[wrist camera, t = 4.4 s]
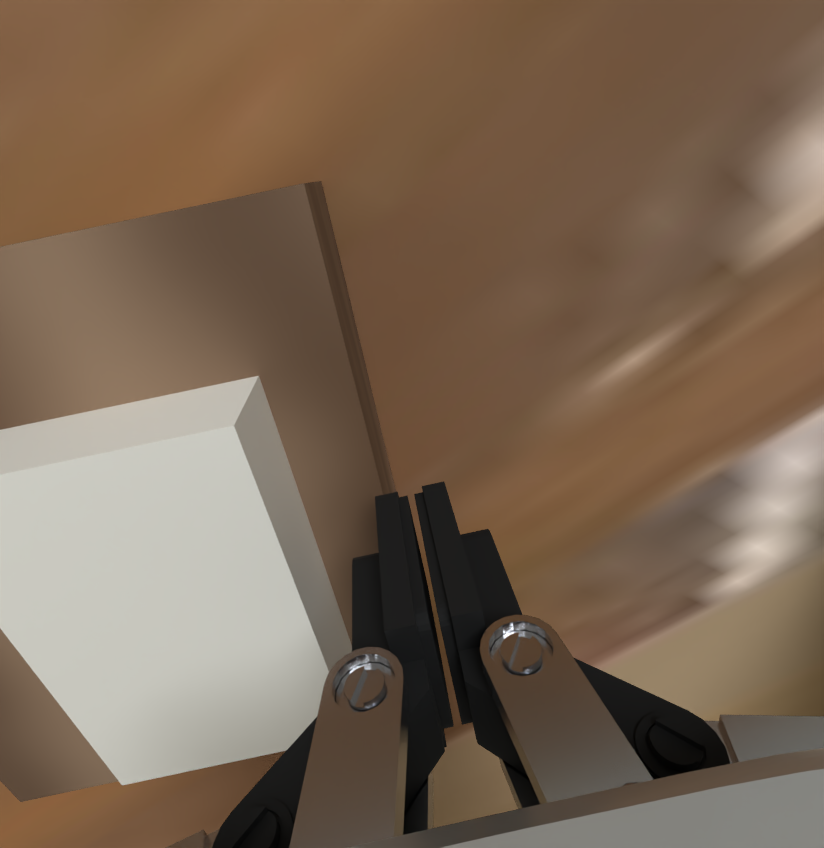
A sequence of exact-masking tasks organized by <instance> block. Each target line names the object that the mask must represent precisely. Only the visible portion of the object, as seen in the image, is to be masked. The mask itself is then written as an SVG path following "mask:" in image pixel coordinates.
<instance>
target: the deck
mask: <svg viewBox="0 0 824 848" xmlns="http://www.w3.org/2000/svg"><path fill="white" fill-rule="evenodd" d="M255 376H259V378H260V381H261V384H262V386H263V389H264V392H265V395H266V398H267V401H268V404H269V407H270V410H271V413H272V415H273V418H274V421H275V424H276V427H277V430H278V433H279V436H280V439H281V442H282V445H283V447H284V450H285V453H286V456H287V459H288V462H289V465H290V468H291V471H292V474H293V476H294V479H295V482H296V485H297V488H298V491H299V494H300V497H301V500H302V503H303V505H304V508H305V511H306V514H307V517H308V520H309V523H310V526H311V529H312V532H313V535H314V537H315V540H316V543H317V546H318V549H319V552H320V555H321V558H322V561H323V564H324V566H325V569H326V572H327V575H328V578H329V581H330V584H331V587H332V590H333V593H334V595H335V598H336V601H337V604H338V607H339V610H340V613H341V616H342V619H343V622H344V625H345V627H346V630H347V633H348V636H349V639H350V642H351V645H352V560H353V558H356V557H360V556H365V555H369V554H374V553H379V550H378V536H377V522H376V507H375V496H379V495H384V494H389V493H393V492H396V490H395V486H394V482H393V477H392V473H391V469H390V465H389V461H388V457H387V452H386V448H385V444H384V440H383V436H382V432H381V428H380V423H379V419H378V415H377V411H376V407H375V403H374V398H373V394H372V390H371V386H370V382H369V378H368V374H367V369H366V365H365V361H364V357H363V353H362V349H361V345H360V340H359V336H358V332H357V328H356V324H355V320H354V315H353V311H352V307H351V303H350V299H349V295H348V291H347V286H346V282H345V278H344V274H343V270H342V266H341V261H340V257H339V253H338V249H337V245H336V241H335V237H334V232H333V228H332V224H331V220H330V216H329V212H328V208H327V203H326V199H325V195H324V191H323V187H322V183H321V181H319V182H312V183H304V184H299V185H295V186H290V187H285V188H280V189H275V190H271V191H266V192H261V193H256V194H251V195H247V196H242V197H237V198H232V199H227V200H223V201H218V202H213V203H208V204H203V205H199V206H194V207H189V208H184V209H179V210H175V211H170V212H165V213H160V214H156V215H151V216H146V217H141V218H136V219H132V220H127V221H122V222H117V223H112V224H108V225H103V226H98V227H93V228H88V229H84V230H79V231H74V232H69V233H64V234H60V235H55V236H50V237H45V238H41V239H36V240H31V241H26V242H21V243H17V244H12V245H7V246H2V247H0V430H2V429H7V428H12V427H17V426H21V425H26V424H31V423H36V422H41V421H45V420H50V419H55V418H60V417H64V416H69V415H74V414H79V413H83V412H88V411H93V410H98V409H103V408H107V407H112V406H117V405H122V404H126V403H131V402H136V401H141V400H145V399H150V398H155V397H160V396H164V395H169V394H174V393H179V392H184V391H188V390H193V389H198V388H203V387H207V386H212V385H217V384H222V383H226V382H231V381H236V380H241V379H246V378H250V377H255ZM0 781H1V782H2V783H3V784H4V785H5V786H6V787H7V788H8V789H9V790H10V791H11V792H12V793H13V795H14V796H15V797H16V798H17V799H18V800H19V801H20V802H23V801H27V800H32V799H37V798H41V797H46V796H51V795H56V794H60V793H65V792H70V791H74V790H79V789H84V788H89V787H93V786H98V785H103V784H107V783H112V782H117V781H118V780H117V778H116V777H115V776H114V774H113V773H112V772H111V771H110V769H109V768H108V767H107V765H106V764H105V763H104V761H103V760H102V759H101V758H100V756H99V755H98V754H97V752H96V751H95V750H94V749H93V747H92V746H91V745H90V743H89V742H88V741H87V740H86V738H85V737H84V736H83V734H82V733H81V732H80V731H79V729H78V728H77V727H76V725H75V724H74V723H73V722H72V720H71V719H70V718H69V716H68V715H67V714H66V712H65V711H64V710H63V709H62V707H61V706H60V705H59V703H58V702H57V701H56V700H55V698H54V697H53V696H52V694H51V693H50V692H49V691H48V689H47V688H46V687H45V685H44V684H43V683H42V682H41V680H40V679H39V678H38V676H37V675H36V674H35V673H34V671H33V670H32V669H31V667H30V666H29V665H28V663H27V662H26V661H25V660H24V658H23V657H22V656H21V654H20V653H19V652H18V651H17V649H16V648H15V647H14V645H13V644H12V643H11V642H10V640H9V639H8V638H7V636H6V635H5V634H4V633H3V631H2V630H1V629H0Z"/></svg>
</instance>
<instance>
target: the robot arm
mask: <svg viewBox="0 0 824 848" xmlns="http://www.w3.org/2000/svg"><path fill="white" fill-rule="evenodd" d="M422 489H423V492H422V493H418V494H414V495H415V500H416V505H417V510H418V515H419V521H420V526H421V531H422V536H423V541H424V546H425V551H426V556H427V561H428V567H429V572H430V577H431V582H432V587H433V592H434V597H435V602H436V608H437V612H438V617H439V622H440V627H441V631H442V636H443V640H444V645H445V649H446V654H447V658H448V663H449V667H450V672H451V676H452V681H453V685H454V690H455V694H456V699H457V703H458V708H459V713H460V717H461V722H462V724H466V723H471V722H473V726H474V730H475V735H476V739H477V742H478V744H479V745H481V746H482V747H484V748H485V749H487V750H488V751H490V752H491V753H493V754H494V755H496V756H498V757H499V760H500V764H501V768H502V770H503V773H504V775H505V778H506V780H507V782H508V785H509V787H510V790H511V792H512V795H513V797H514V800H515V802H516V805H517V807H518V809H517V810H513V811H508V812H504V813H499V814H495V815H490V816H486V817H481V818H477V819H472V820H468V821H463V822H459V823H455V824H450V825H446V826H441V827H437V828H433V776H432V770H433V768H434V767H435V765H436V764H437V762H438V761H439V759H440V758H441V756H442V755H443V753H444V752H445V749H444V747H447V746H446V740H445V734H444V728H448V727H453V720H452V714H451V709H450V703H449V698H448V693H447V687H446V682H445V676H444V671H443V665H442V660H441V655H440V649H439V644H438V638H437V633H436V628H435V622H434V617H433V611H432V606H431V600H430V595H429V590H428V585H427V580H426V576H425V571H424V567H423V563H422V558H421V554H420V549H419V545H418V541H417V536H416V532H415V527H414V523H413V518H412V514H411V510H410V505H409V501H408V497H407V496H404V497H399V496H398V492H393V493H389V494H384V495H379V496H375V507H376V522H377V536H378V550H379V553H374V554H369V555H365V556H360V557H356V558H353V560H352V652H350V653H348V654H346V655H345V656H344V657H342V658H341V659H340V660H339V661H338V662H336V663H335V665H334V666H333V667H332V669H331V670H330V672H329V673H328V675H327V678H326V681H325V683H324V687H323V692H322V696H321V701H320V706H319V710H318V715H317V717H316V718H315V719H314V720H313V722H312V723H311V724H310V725H309V726H308V727H307V728H306V729H305V731H304V732H303V733H302V734H301V735H300V736H299V737H298V738H297V739H296V741H295V742H294V743H293V744H292V745H291V746H290V747H289V748H288V750H287V751H286V752H285V753H284V754H283V755H282V756H281V757H280V758H279V760H278V761H277V762H276V763H275V764H274V765H273V766H272V767H271V768H270V770H269V771H268V772H267V773H266V774H265V775H264V776H263V777H262V779H261V780H260V781H259V782H258V783H257V784H256V785H255V786H254V787H253V789H252V790H251V791H250V792H249V793H248V794H247V795H246V796H245V798H244V799H243V800H242V801H241V802H240V803H239V804H238V805H237V806H236V808H235V809H234V810H233V811H232V812H231V813H230V815H229V816H228V818H227V819H226V820H225V822H224V823H223V824H222V826H221V827H220V829H219V830H217V831H215V832H213V833H210V834H208V835H207V834H206V832H205V831H204V830H202V831H200V832H198V833H195V834H193V835H191V836H189V837H187V838H185V839H183V840H181V841H179V842H177V843H175V844H173V845H170V846H168V847H166V848H824V716H764V715H720V718H719V721H704V720H703V719H701V718H699V717H698V716H696V715H694V714H693V713H691V712H689V711H688V710H685V709H683V708H681V707H679V706H677V705H675V704H672V703H670V702H668V701H666V700H664V699H662V698H660V697H657V696H655V695H653V694H651V693H649V692H647V691H644V690H642V689H640V688H638V687H636V686H634V685H631V684H629V683H627V682H625V681H623V680H621V679H618V678H616V677H614V676H612V675H610V674H608V673H606V672H603V671H601V670H599V669H597V668H595V667H593V666H590V665H588V664H586V663H584V662H582V661H580V660H577V659H575V658H573V656H572V655H571V653H570V652H569V650H568V649H567V647H566V646H565V644H564V643H563V641H562V640H561V638H560V637H559V635H558V634H557V632H556V631H555V630H554V629H553V628H552V627H551V626H550V625H549V624H547V623H546V622H544V621H542V620H541V619H539V618H535V617H532V616H529V615H522V613H521V610H520V608H519V605H518V602H517V600H516V597H515V595H514V592H513V589H512V587H511V584H510V582H509V579H508V577H507V574H506V571H505V569H504V566H503V564H502V561H501V559H500V556H499V553H498V551H497V548H496V546H495V543H494V540H493V538H492V535H491V533H490V531H489V530H488V529H485V530H481V531H476V532H471V533H467V534H462V535H460V533H459V530H458V526H457V523H456V520H455V516H454V513H453V510H452V506H451V503H450V500H449V496H448V493H447V490H446V486H445V483H444V482H440V483H435V484H431V485H426V486H422Z"/></svg>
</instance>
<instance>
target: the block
mask: <svg viewBox="0 0 824 848" xmlns="http://www.w3.org/2000/svg"><path fill="white" fill-rule="evenodd" d="M0 629H1V630H2V631H3V633H4V634H5V635H6V636H7V638H8V639H9V640H10V642H11V643H12V644H13V645H14V647H15V648H16V649H17V651H18V652H19V653H20V654H21V656H22V657H23V658H24V660H25V661H26V662H27V663H28V665H29V666H30V667H31V669H32V670H33V671H34V673H35V674H36V675H37V676H38V678H39V679H40V680H41V682H42V683H43V684H44V685H45V687H46V688H47V689H48V691H49V692H50V693H51V694H52V696H53V697H54V698H55V700H56V701H57V702H58V703H59V705H60V706H61V707H62V709H63V710H64V711H65V712H66V714H67V715H68V716H69V718H70V719H71V720H72V722H73V723H74V724H75V725H76V727H77V728H78V729H79V731H80V732H81V733H82V734H83V736H84V737H85V738H86V740H87V741H88V742H89V743H90V745H91V746H92V747H93V749H94V750H95V751H96V752H97V754H98V755H99V756H100V758H101V759H102V760H103V761H104V763H105V764H106V765H107V767H108V768H109V769H110V771H111V772H112V773H113V774H114V776H115V777H116V778H117V780H118V781H119V782H120V783H121V785H126V784H131V783H135V782H140V781H145V780H150V779H154V778H159V777H164V776H168V775H173V774H178V773H183V772H187V771H192V770H197V769H201V768H206V767H211V766H216V765H220V764H225V763H230V762H234V761H239V760H244V759H249V758H253V757H258V756H263V755H267V754H272V753H277V752H282V751H286V750H288V748H289V747H290V746H291V745H292V744H293V743H294V742H295V741H296V739H297V738H298V737H299V736H300V735H301V734H302V733H303V732H304V731H305V729H306V728H307V727H308V726H309V725H310V724H311V723H312V722H313V720H314V719H315V718H316V717H317V715H318V710H319V706H320V701H321V696H322V692H323V687H324V683H325V681H326V678H327V675H328V673H329V672H330V670H331V669H332V667H333V666H334V665H335V663H336V662H338V661H339V660H340V659H341V658H342V657H344V656H345V655H346V654H348V653H350V652H352V645H351V642H350V639H349V636H348V633H347V630H346V627H345V625H344V622H343V619H342V616H341V613H340V610H339V607H338V604H337V601H336V598H335V595H334V593H333V590H332V587H331V584H330V581H329V578H328V575H327V572H326V569H325V566H324V564H323V561H322V558H321V555H320V552H319V549H318V546H317V543H316V540H315V537H314V535H313V532H312V529H311V526H310V523H309V520H308V517H307V514H306V511H305V508H304V505H303V503H302V500H301V497H300V494H299V491H298V488H297V485H296V482H295V479H294V476H293V474H292V471H291V468H290V465H289V462H288V459H287V456H286V453H285V450H284V447H283V445H282V442H281V439H280V436H279V433H278V430H277V427H276V424H275V421H274V418H273V415H272V413H271V410H270V407H269V404H268V401H267V398H266V395H265V392H264V389H263V386H262V384H261V381H260V378H259V376H255V377H250V378H246V379H241V380H236V381H231V382H226V383H222V384H217V385H212V386H207V387H203V388H198V389H193V390H188V391H184V392H179V393H174V394H169V395H164V396H160V397H155V398H150V399H145V400H141V401H136V402H131V403H126V404H122V405H117V406H112V407H107V408H103V409H98V410H93V411H88V412H83V413H79V414H74V415H69V416H64V417H60V418H55V419H50V420H45V421H41V422H36V423H31V424H26V425H21V426H17V427H12V428H7V429H2V430H0Z"/></svg>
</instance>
